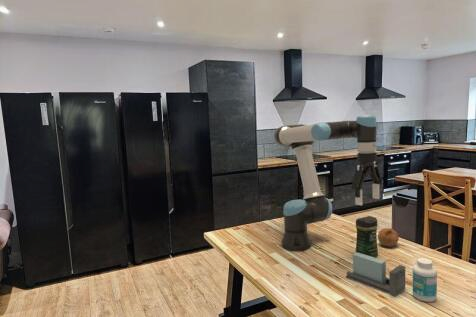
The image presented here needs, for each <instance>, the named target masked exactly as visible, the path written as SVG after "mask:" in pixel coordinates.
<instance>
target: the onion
mask: <svg viewBox="0 0 476 317" xmlns="http://www.w3.org/2000/svg"><path fill="white" fill-rule="evenodd" d="M377 233H378V235H377V240H378V241H379V243H380V245H382V246H384V247H388V248H392V247H394V246H396V245H397V244H398V242H399V238H400V237H399V233H398V232H397V231H396V230H395V229H393V228H390V227H385V228H382V229H380V230H379V232H377Z"/></svg>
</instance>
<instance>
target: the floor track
mask: <svg viewBox="0 0 476 317" xmlns="http://www.w3.org/2000/svg"><path fill="white" fill-rule="evenodd" d="M388 273H389V274H388V276H389V277H387V276H386V284H383V283H380V282H377V281H375V280H372V279H369V278H366V277H364V276H361V275H358V274H355V273H353V271H350V270H348V271H347V270H346V276H345V278H346V279H349V280H351V281H354V282H357V283H358V284H360V285H361V284H362V285H364V286H366V287H369V288H372V289H373V290H374V289H375V290H377V291H380V292H382V293H385V294H387V295H390V296H393V297H396V296H398V295H399V294H401V293H402V292H403V291H405V289H406V266H404V265H402V264H399V265H397V266H396V267H395V268H393V269H392V270H390V271H389V272H388Z"/></svg>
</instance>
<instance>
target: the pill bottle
mask: <svg viewBox="0 0 476 317" xmlns="http://www.w3.org/2000/svg"><path fill="white" fill-rule="evenodd" d="M433 265H434V263H433V260H431V259H429V258H426V257H418V258H416V264H414V265H413V266H412V295H413V297H415V298H416V299H418V300H419V301H422V302H429V303H430V302H435V301H436V300H437V296H438V288H437V287H438V271H437V269H436V267H434V266H433Z"/></svg>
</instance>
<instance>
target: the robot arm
mask: <svg viewBox="0 0 476 317" xmlns="http://www.w3.org/2000/svg"><path fill="white" fill-rule="evenodd" d="M273 138H274V141H275V143H276V144H277V145H278V146H281V147H286V148H288V147H291V150H292V152H293V153H295V156H296V161H297V164H298V165H297V166H298V170H299V175H300V178H301V182H302V188H303V192H304V196H303V198H302V199H301V198H300V199H293V200H289V201H286V203H285V204H284V205H283V221H284V222H283V224H284V226H283V228H284V232H283V236H282V240H281V247H282V248H283V249H284V250H287V251H293V252H302V251H306V250H309V249H310V248H312V240H311V239H310V235H309V233H308V232H309V231H308V225H311V224H315V223H319V222H321V223H322V222H324V221H327V220H329V219H330V218H331V217H332V215H333V214H332V213H333V204H332V201H330V199H329V198H327V197H326V196H325V193H323V192H322V191H321V187H320V182H319V179H318V178H319V177H318V174H317V170H316V166H315V162H314V156H313V153H312V148H313V147H314V144H315V142H316V141H329V140H338V139H341V140H342V139H351V138H352V139H356V147H357V148H356V150H357V156H356V157H357V162H360V164H359V165H357V164H356V165H355V168H354V170H355V172H354V174H353V175H354V176H353V179H352V184H351V189H353V190H354V194H355V195H354V197H355V198H354V199H355V200H354V202H355V203H354V204H355V205H357V206H363V189H362V187H363V184H364V182H365V179H366V177H367V176H368V175H369V177H370V179H371V181H372V186H371V187H372V199H375V200H380V185H382V184H383V177H382V175H381V171H380V167H379V161H377V160H378V155H377V154H378V153H377V150H378V149H377V147H378V145H377V117H376V115H374V114H368V115H367V114H366V115H358V116H357V117H356V120H340V121H329V122H327V121H325V122H323V121H322V122H317V123H312V124H303V123H300V124H292V125H291V124H290V125H282V126H280V127H278V128H277V129H276V130H275V132H274V134H273Z"/></svg>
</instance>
